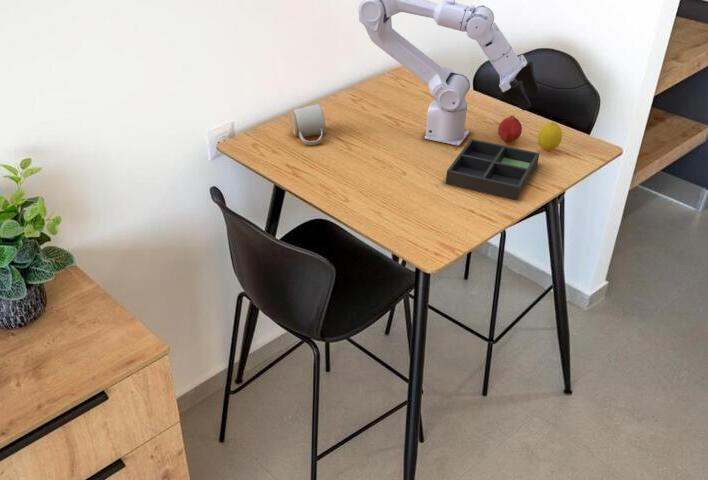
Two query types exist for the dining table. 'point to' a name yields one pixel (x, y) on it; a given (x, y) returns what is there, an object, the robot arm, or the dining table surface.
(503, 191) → the divided tray
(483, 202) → the dining table surface
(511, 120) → the onion
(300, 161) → the dining table surface
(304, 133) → the ceramic mug
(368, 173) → the dining table surface
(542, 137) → the lemon
